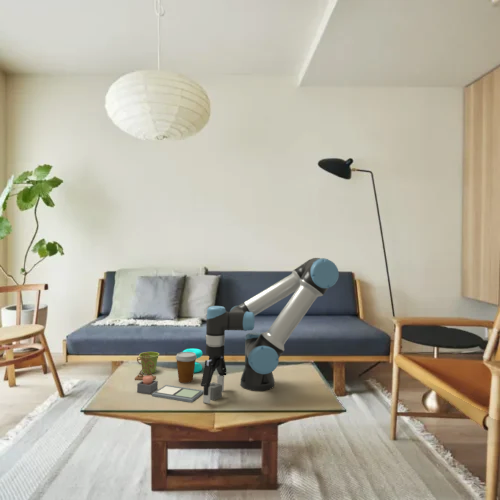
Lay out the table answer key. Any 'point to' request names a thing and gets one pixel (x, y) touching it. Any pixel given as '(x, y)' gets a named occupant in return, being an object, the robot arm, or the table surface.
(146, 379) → the button
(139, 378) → the brown scrollwork sculpture
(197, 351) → the donuts
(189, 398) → the picture board
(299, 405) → the table surface
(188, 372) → the disposable coffee cup
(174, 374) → the table surface
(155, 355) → the plant pot
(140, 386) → the button housing
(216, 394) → the dice cube
